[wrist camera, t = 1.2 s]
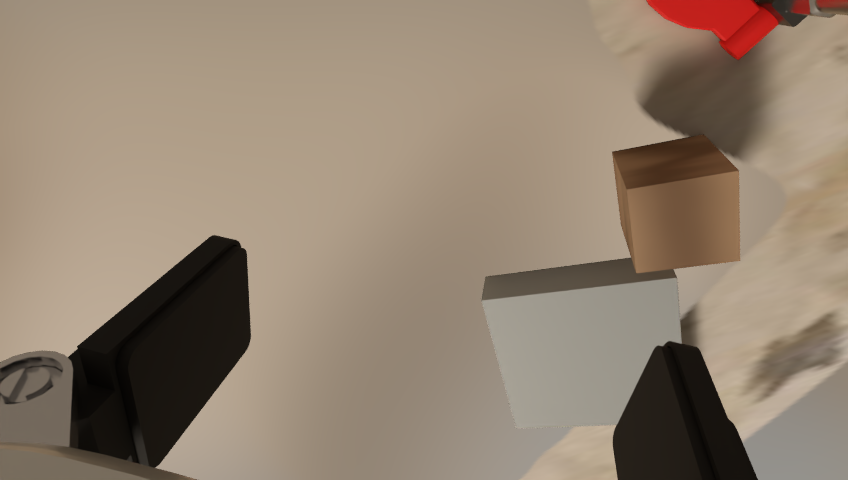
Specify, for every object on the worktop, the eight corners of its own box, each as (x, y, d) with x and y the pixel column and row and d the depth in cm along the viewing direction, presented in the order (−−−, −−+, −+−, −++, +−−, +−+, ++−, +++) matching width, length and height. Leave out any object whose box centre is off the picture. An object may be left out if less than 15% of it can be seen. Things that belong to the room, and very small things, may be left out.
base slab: (666, 253, 33) (676, 277, 30) (677, 390, 38) (687, 422, 35) (485, 276, 36) (481, 300, 34) (517, 399, 41) (516, 428, 39)
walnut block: (703, 134, 29) (738, 170, 24) (706, 211, 31) (739, 260, 26) (612, 151, 31) (626, 189, 25) (621, 224, 33) (636, 273, 27)
